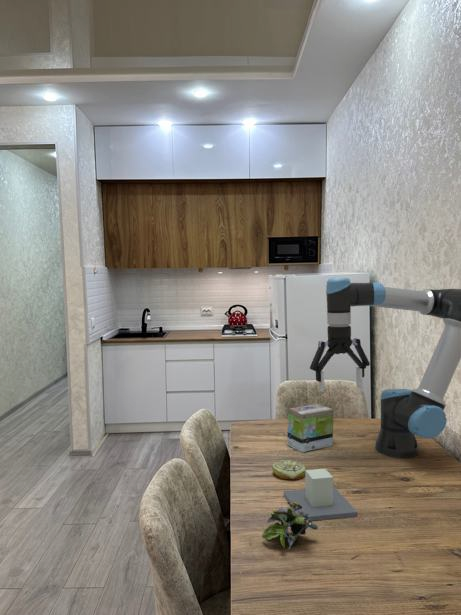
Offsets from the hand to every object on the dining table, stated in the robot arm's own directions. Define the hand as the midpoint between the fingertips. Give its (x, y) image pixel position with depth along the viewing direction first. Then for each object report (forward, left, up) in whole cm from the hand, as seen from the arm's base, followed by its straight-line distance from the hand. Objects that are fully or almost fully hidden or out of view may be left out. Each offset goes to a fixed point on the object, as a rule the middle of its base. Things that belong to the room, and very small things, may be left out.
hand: (340, 389), depth 155 cm
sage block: (+15, +20, -27) cm, 37 cm away
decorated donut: (+17, -2, -29) cm, 33 cm away
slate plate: (+15, +20, -28) cm, 38 cm away
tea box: (+1, -26, -28) cm, 38 cm away
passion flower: (+29, +37, -28) cm, 55 cm away
